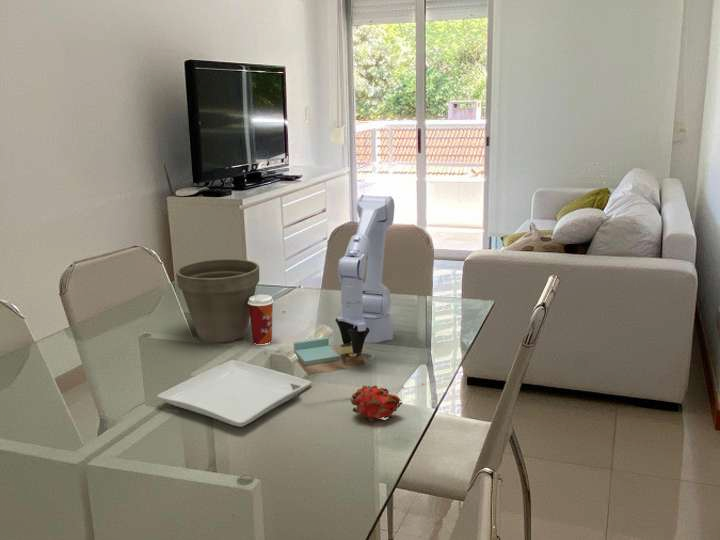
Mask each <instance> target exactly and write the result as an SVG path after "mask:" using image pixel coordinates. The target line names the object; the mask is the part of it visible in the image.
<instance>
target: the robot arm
mask: <svg viewBox="0 0 720 540" xmlns="http://www.w3.org/2000/svg"><path fill="white" fill-rule="evenodd" d="M356 210H357V211H356V212H357V214H358V219H359V221H358V226H357V229H356V234H354V235H352V236H351V237H350V239H349V242H348V243H347V244H348V245H347V248H346V251H345V252H344V256H342V257H340V258H339V259H338V263H337V271H336V272H337V276H338V283H339V285H340V297H341V299H340V301H341V303H340V304H341V305H340V306H341V307H340V308H339V309H338V314H339V315H338V316H337V318H335V323H336V324H337V326H338V328H339V332H340V336H341V341H342V344H347V343H352V349H353V353H354V354H356V353H361V354H362V352H363V351H362V348H363V344H364V343H365V344H367V343H368V344H377V343H378V344H379V343H381V342H386V341H393V340H394V322H393V321H394V320H393V316H392V315H391V313H389V312H390V310H391V290H390V289H389V288H388V287H387V285H385V284H384V283H383V272H384V259H385V250H386V246H385V245H386V236H387V231H388V227H390V226H392V225H393V224H394V218H395V217H394V216H395V200H394V198H393V197H392V196H384V195H383V196H379V195H364V194H360V196H359V197H358V198H357V204H356ZM364 277H365V281H363V279H364ZM374 292H376V293H374Z"/></svg>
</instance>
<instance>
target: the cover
mask: <svg viewBox="0 0 720 540" xmlns="http://www.w3.org/2000/svg"><path fill="white" fill-rule="evenodd" d="M329 344H330V343H329V337H327V336H326V337H321V338H320V337H319V338H315V339H314V338H313V339H306V340H300V341H294V342H293V353H295V354H296V355H297V357H298V358H299V359H300V360H301V362H302V363H303V364H304V365H311V364H318V363H324V362H330V361H336V360H340V356H339V355H338V354H337V353H336V352H335V351H334V350H333V349H332V348H331V347H332V346H330V345H329Z"/></svg>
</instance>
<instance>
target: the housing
mask: <svg viewBox="0 0 720 540" xmlns="http://www.w3.org/2000/svg"><path fill="white" fill-rule="evenodd" d="M330 347H331V348H332V349H333V350H334V351H335V352H336V353H337V354H338V355H339V356H340V360H336V361H330V362H324V363H318V364H311V365H304V364H303V363H302V362H301V360H300V359H299V358H298V360H297V361H296V362H297V363H298V364H299V366H300V367H301V368H302V369H303V370H304V371H305V372H306V374H307V375H308V376H310V375H316V374H321V373H322V374H323V373H329V372H334V371H341V370H346V369H352V368H358V367H364V366H369V365H370V366H371V365H372V363H371V362H370V361H369V360H367V359H366V358H365V356H364V355H363V354H362V352H361V353H357V356H355V357H348V353H346V354H341V353H340V352H339V345H337V346H333V347H332V346H330Z"/></svg>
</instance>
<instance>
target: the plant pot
mask: <svg viewBox="0 0 720 540" xmlns="http://www.w3.org/2000/svg"><path fill="white" fill-rule="evenodd" d="M175 275H176V282H177V287H178V289H180V290H181V292H182V295H183V298H184V300H185V304H186V305H187V308H188V312H189V316H190V318H191V320H192V323H193V327H194V329H195V331H196V334H197V336H198V338H199V339H200V340H202V341H203V342H207V343H217V344H218V343H219V344H220V343H221V344H222V343H230V342H233V341H237V340H239V339H242V338H243V337H245V336H246V334H247V331H248V326H249V323H250V311H249V304H248V301H249V298H250V297H251V296H254V295H256V290H257V289H256V288H257V285H258V284H259V283H260V265H259V264H258V263H257V262H254V261H252V260H246V259H239V258H217V259H205V260H200V261H193V262H191V263H186V264H185V265H181V266H180V267H178V268H177V269H176V271H175Z"/></svg>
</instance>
